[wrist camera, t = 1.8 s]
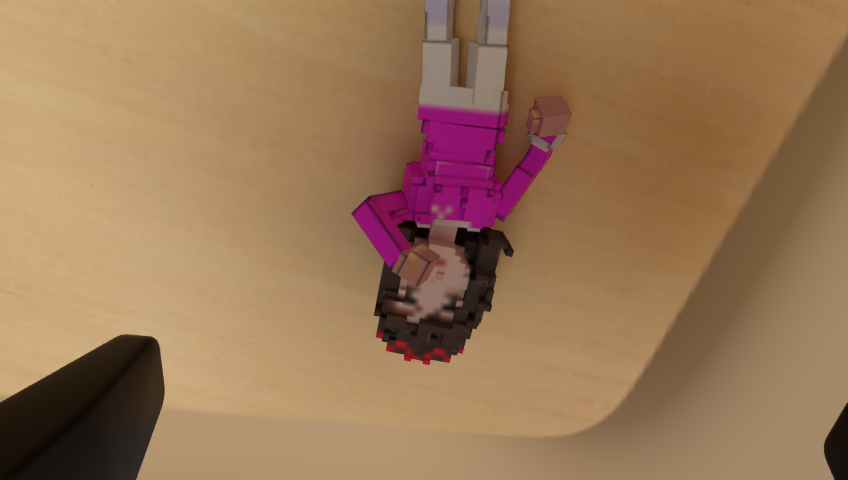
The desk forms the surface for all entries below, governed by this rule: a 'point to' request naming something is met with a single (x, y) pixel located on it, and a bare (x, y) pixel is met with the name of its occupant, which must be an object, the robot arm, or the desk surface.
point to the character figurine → (453, 191)
